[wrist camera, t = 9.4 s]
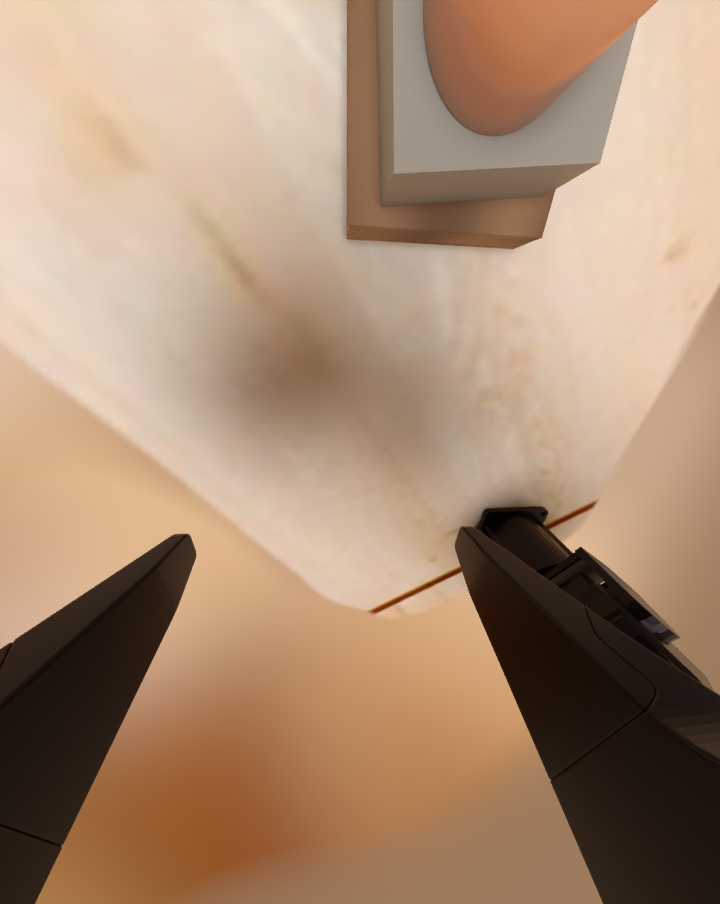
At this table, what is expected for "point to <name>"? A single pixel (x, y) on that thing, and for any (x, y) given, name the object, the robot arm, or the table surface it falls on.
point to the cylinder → (517, 53)
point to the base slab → (416, 222)
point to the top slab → (467, 152)
